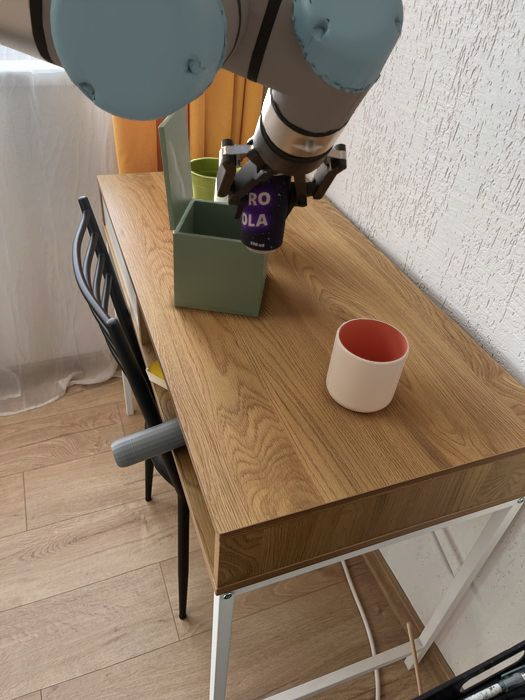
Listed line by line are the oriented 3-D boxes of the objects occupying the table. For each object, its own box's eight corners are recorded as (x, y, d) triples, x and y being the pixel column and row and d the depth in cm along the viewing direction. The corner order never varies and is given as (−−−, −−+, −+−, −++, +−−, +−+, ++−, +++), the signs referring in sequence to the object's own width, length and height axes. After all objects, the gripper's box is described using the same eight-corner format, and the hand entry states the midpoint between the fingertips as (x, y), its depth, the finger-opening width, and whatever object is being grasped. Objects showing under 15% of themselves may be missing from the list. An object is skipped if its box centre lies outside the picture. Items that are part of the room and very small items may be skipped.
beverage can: (240, 234, 73) (247, 147, 65) (281, 238, 73) (292, 151, 66) (239, 254, 69) (246, 163, 61) (282, 258, 69) (294, 168, 61)
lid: (185, 100, 82) (180, 100, 82) (163, 127, 72) (158, 126, 72) (193, 195, 92) (188, 195, 92) (175, 230, 81) (170, 230, 81)
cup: (392, 377, 81) (410, 326, 75) (390, 423, 74) (409, 370, 67) (329, 363, 82) (340, 311, 76) (320, 407, 75) (332, 354, 68)
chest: (265, 276, 101) (273, 208, 92) (258, 317, 90) (265, 245, 81) (190, 266, 101) (191, 198, 92) (174, 306, 90) (172, 233, 82)
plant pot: (243, 228, 115) (247, 178, 108) (189, 229, 112) (189, 178, 105) (233, 204, 124) (236, 157, 117) (183, 205, 121) (182, 156, 114)
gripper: (200, 156, 47) (191, 235, 70) (397, 164, 50) (326, 237, 73) (198, 76, 47) (189, 180, 70) (393, 89, 51) (324, 185, 73)
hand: (259, 209), depth 71 cm, fingers closed on beverage can, 6 cm apart
